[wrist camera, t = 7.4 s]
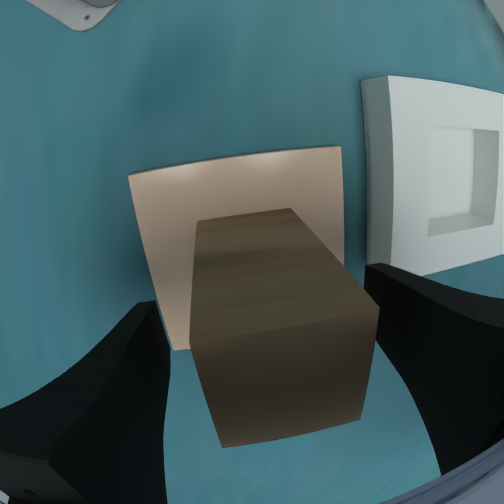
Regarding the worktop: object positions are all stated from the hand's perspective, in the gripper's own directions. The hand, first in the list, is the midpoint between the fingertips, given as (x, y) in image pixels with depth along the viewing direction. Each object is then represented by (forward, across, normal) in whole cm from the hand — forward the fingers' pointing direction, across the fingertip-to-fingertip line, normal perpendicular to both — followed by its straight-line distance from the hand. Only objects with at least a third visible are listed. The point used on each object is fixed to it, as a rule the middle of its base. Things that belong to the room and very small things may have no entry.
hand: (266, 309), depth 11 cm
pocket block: (+5, -10, -3) cm, 12 cm away
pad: (+5, 0, 0) cm, 5 cm away
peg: (+4, 0, 0) cm, 4 cm away
